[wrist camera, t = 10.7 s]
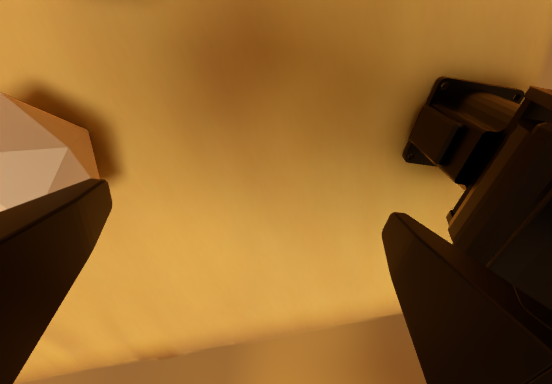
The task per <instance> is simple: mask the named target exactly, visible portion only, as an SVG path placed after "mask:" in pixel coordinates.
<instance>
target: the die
mask: <svg viewBox="0 0 552 384" xmlns="http://www.w3.org/2000/svg"><path fill="white" fill-rule="evenodd" d="M90 178H95V179H100V178H99V173H98V169H97V165H96V161H95V157H94V153H93V148H92V144H91V140H90V136H89V132H88V130H87V129H85V128H82V127H80V126H78V125H75V124H73V123H71V122H68V121H66V120H64V119H61V118H59V117H57V116H54V115H52V114H50V113H47V112H45V111H42V110H40V109H38V108H35V107H33V106H31V105H28V104H26V103H24V102H21V101H19V100H17V99H14V98H12V97H10V96H7V95H5V94H3V93H0V212H1V211H3V210H6V209H9V208H12V207H14V206H17V205H20V204H22V203H25V202H28V201H30V200H33V199H36V198H39V197H41V196H44V195H47V194H49V193H52V192H55V191H57V190H60V189H63V188H65V187H68V186H71V185H74V184H76V183H79V182H82V181H84V180H87V179H90Z"/></svg>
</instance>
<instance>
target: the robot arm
mask: <svg viewBox="0 0 552 384" xmlns="http://www.w3.org/2000/svg"><path fill="white" fill-rule="evenodd" d="M444 82H446V84H445V86H444V87H443V88H441V85H442V84H443V83H444ZM515 95H516V97H515V98H514V99H513V97H514V96H515ZM523 97H525V99H524V101H523V102H522V104H521V105H520V103H521V101H522V99H523ZM409 139H410V140H409V142H408V144H407V146H406V148H405V151H404V153H403V159H404V160H405V161H406V162H408V163H415V164H423V165H430V166H438V167H439V168H440V169H441V170H442V171H443V172H444V173H445V174H446V175H447V176H448V177H449V178H450V179H452V180H453V181H454V182H455V183H456V184H458V185H459V186H460V187H461V188H463V189H464V190H465V192H464V193H463V195H462V196H461V198H460V199H459V201H458V203H457V204H456V206H455V207H454V209H453V210H450V212H449V213H448V215H447V216H446V218H447V221H448V224H449V228H448V231H449V234H450V236H451V239H452V241H453V244H451V243H449V242H448V241H446V240H445V239H443V238H442V237H440V236H439V235H437V234H436V233H434V232H433V231H431V230H430V229H428V228H427V227H425V226H424V225H422V224H421V223H419V222H418V221H416V220H415V219H413V218H412V217H410V216H409V215H407V214H405V213H398V212H393V213H391V214H390V216H389V218H388V220H387V222H386V224H385V226H384V228H383V231H382V240H383V244H384V249H385V254H386V258H387V263H388V267H389V272H390V275H391V279H392V282H393V285H394V288H395V291H396V294H397V297H398V300H399V303H400V306H401V309H402V312H403V315H404V318H405V321H406V324H407V327H408V330H409V333H410V336H411V338H412V341H413V344H414V347H415V350H416V353H417V356H418V359H419V362H420V364H421V368H422V371H423V374H424V377H425V380H426V383H427V384H552V90H550V89H544V88H538V87H533V86H530V87H529V89H528V90H527V92H526V93H525V95H524V92H523V91H521V90H518V89H514V88H508V87H502V86H496V85H491V84H485V83H479V82H473V81H467V80H462V79H456V78H450V77H441V78H439V79H438V80H437V81H436V83H435V85H434V87H433V89H432V91H431V94H430V96H429V98H428V100H427V102H426V104H425V106H424V107H423V108H422V110H421V112H420V114H419V117H418V119H417V121H416V123H415V126H414V128H413V130H412V132H411V134H410V137H409ZM410 154H412V156H411V157H409V158H408V156H409V155H410ZM111 209H112V199H111V194H110V189H109V185H108V182H107V181H106V180H104V179H95V178H90V179H87V180H84V181H82V182H79V183H76V184H74V185H71V186H68V187H65V188H63V189H60V190H57V191H55V192H52V193H49V194H47V195H44V196H41V197H39V198H36V199H33V200H30V201H28V202H25V203H22V204H20V205H17V206H14V207H12V208H9V209H6V210H3V211H1V212H0V384H13V383H14V381H15V380H16V378H17V376H18V375H19V373H20V371H21V370H22V368H23V366H24V365H25V363H26V361H27V360H28V358H29V356H30V355H31V353H32V351H33V350H34V348H35V346H36V345H37V343H38V341H39V340H40V338H41V336H42V335H43V333H44V331H45V330H46V328H47V326H48V325H49V323H50V321H51V320H52V318H53V316H54V315H55V313H56V311H57V310H58V308H59V306H60V305H61V303H62V301H63V300H64V298H65V296H66V295H67V293H68V291H69V290H70V288H71V286H72V285H73V283H74V282H75V280H76V278H77V277H78V275H79V273H80V272H81V270H82V268H83V267H84V265H85V263H86V262H87V260H88V258H89V256H90V255H91V253H92V251H93V249H94V247H95V245H96V243H97V240H98V238H99V236H100V234H101V232H102V229H103V227H104V225H105V223H106V220H107V218H108V216H109V214H110V211H111Z"/></svg>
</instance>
